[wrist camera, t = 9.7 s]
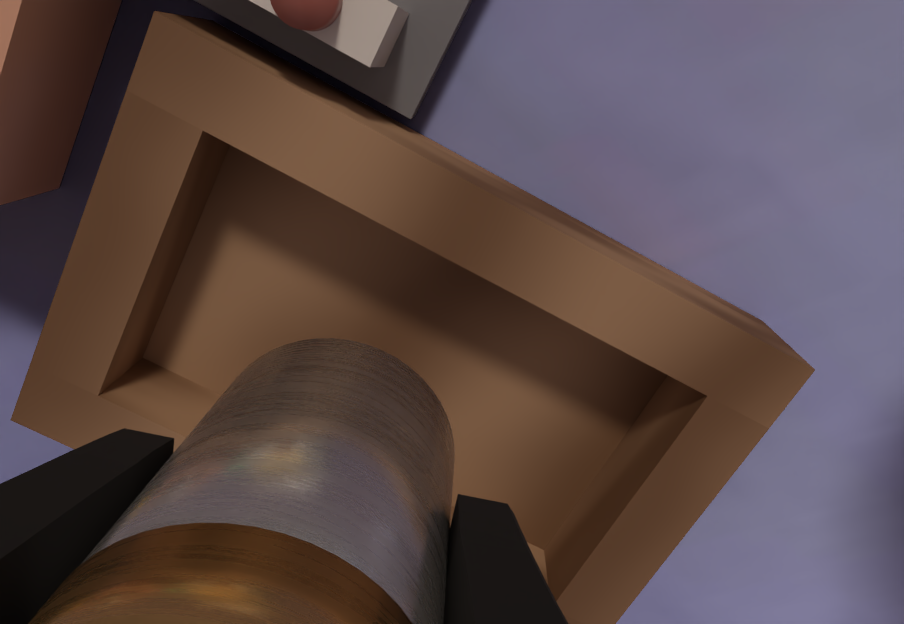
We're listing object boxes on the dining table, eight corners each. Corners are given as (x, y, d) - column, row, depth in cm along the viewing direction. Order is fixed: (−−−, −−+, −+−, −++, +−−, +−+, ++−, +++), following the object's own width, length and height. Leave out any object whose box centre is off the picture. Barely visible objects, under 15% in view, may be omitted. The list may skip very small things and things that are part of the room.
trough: (762, 321, 18) (815, 369, 15) (561, 594, 21) (572, 677, 18) (213, 20, 16) (153, 10, 13) (81, 367, 19) (10, 420, 16)
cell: (477, 362, 9) (471, 889, 3) (433, 573, 11) (365, 1271, 4) (222, 315, 9) (-274, 759, 3) (204, 532, 10) (-196, 1181, 4)
